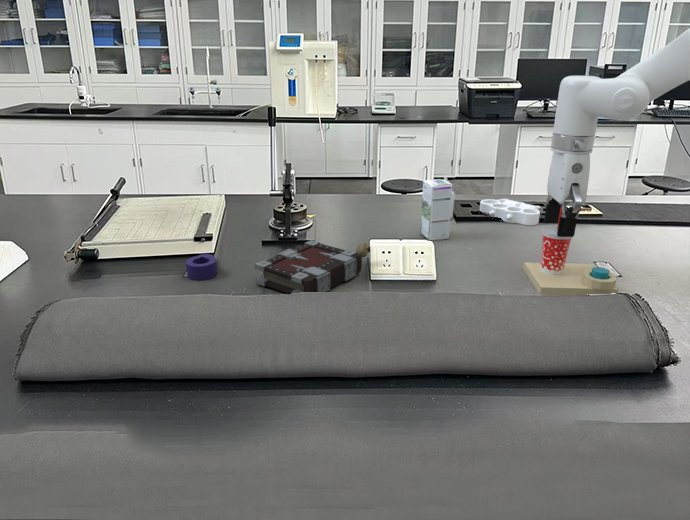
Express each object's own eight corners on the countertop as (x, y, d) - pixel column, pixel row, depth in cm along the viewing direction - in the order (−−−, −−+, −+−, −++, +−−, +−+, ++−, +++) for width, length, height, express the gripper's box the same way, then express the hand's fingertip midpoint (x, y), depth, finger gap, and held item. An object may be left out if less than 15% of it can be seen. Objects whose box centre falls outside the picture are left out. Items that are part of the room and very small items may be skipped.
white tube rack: (552, 218, 153) (526, 229, 143) (497, 205, 165) (470, 214, 155) (553, 206, 151) (528, 217, 142) (498, 194, 163) (471, 203, 154)
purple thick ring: (216, 279, 112) (215, 265, 111) (185, 281, 111) (183, 267, 110) (220, 258, 123) (218, 245, 122) (192, 259, 122) (190, 246, 121)
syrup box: (449, 239, 136) (454, 183, 130) (428, 241, 134) (432, 185, 129) (439, 232, 141) (443, 178, 135) (419, 234, 139) (422, 179, 134)
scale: (592, 271, 117) (595, 256, 116) (618, 298, 104) (621, 282, 103) (523, 269, 118) (525, 254, 116) (540, 296, 105) (543, 280, 104)
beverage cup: (534, 264, 116) (544, 202, 111) (564, 266, 115) (575, 204, 110) (538, 275, 110) (548, 210, 105) (569, 277, 109) (581, 212, 104)
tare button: (604, 274, 108) (605, 266, 107) (610, 280, 105) (612, 273, 104) (588, 273, 108) (589, 266, 107) (594, 280, 105) (595, 272, 104)
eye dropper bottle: (448, 221, 149) (452, 179, 144) (430, 218, 152) (433, 177, 147) (454, 217, 152) (458, 176, 148) (436, 214, 155) (439, 174, 151)
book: (255, 284, 109) (253, 261, 108) (329, 250, 128) (329, 230, 126) (309, 304, 101) (308, 280, 99) (380, 264, 120) (381, 243, 118)
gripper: (610, 152, 94) (592, 244, 101) (576, 136, 110) (562, 216, 117) (567, 151, 95) (552, 243, 101) (539, 136, 111) (528, 216, 117)
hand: (558, 228), depth 109 cm, fingers open, 8 cm apart
